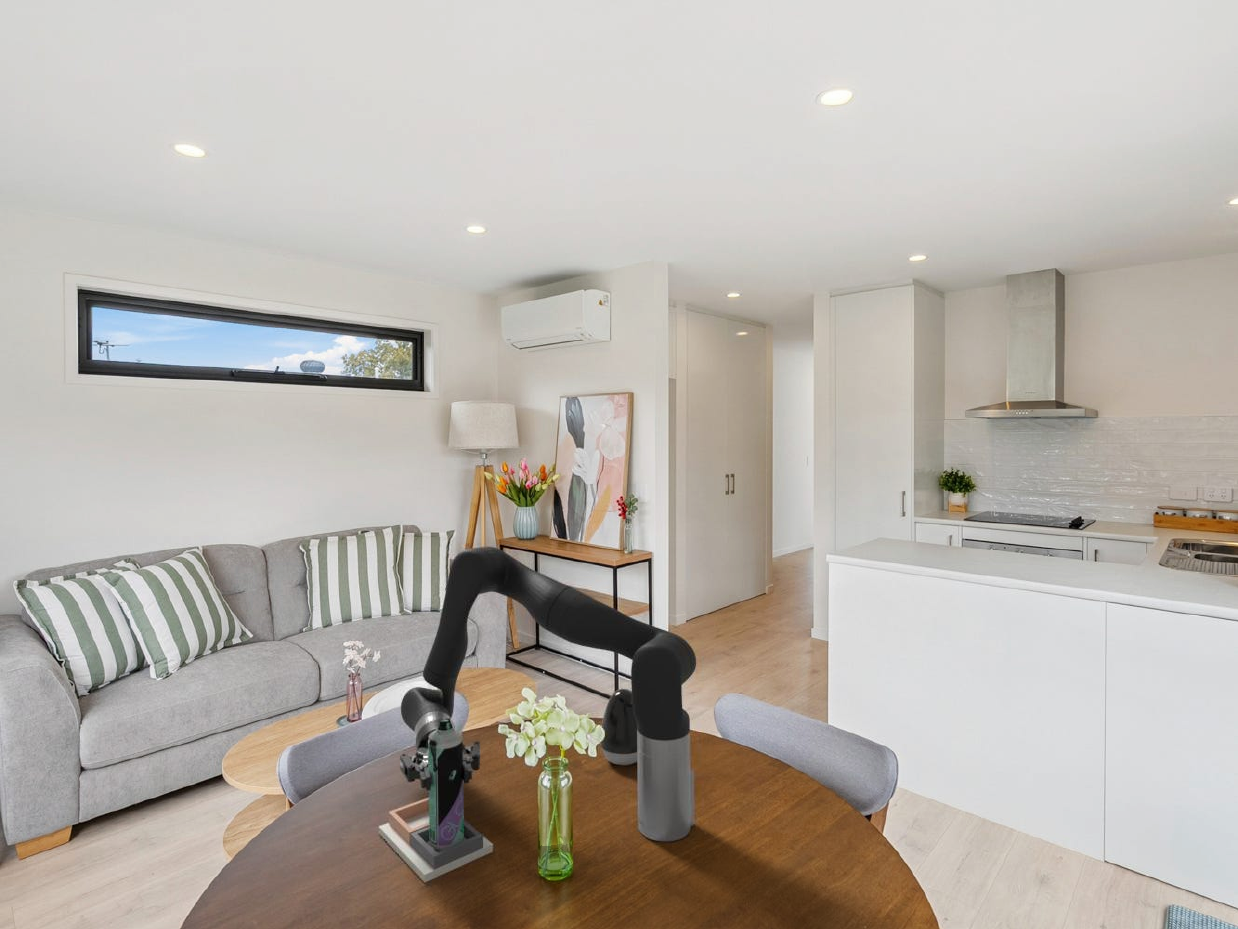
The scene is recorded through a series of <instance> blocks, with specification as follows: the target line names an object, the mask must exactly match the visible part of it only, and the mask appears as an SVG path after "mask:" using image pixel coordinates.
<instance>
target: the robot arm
mask: <svg viewBox="0 0 1238 929" xmlns="http://www.w3.org/2000/svg"><path fill="white" fill-rule="evenodd" d="M486 593H487V594H488V593H497V594H500V595H502V596H505V597H507V598H509V599H512V600H514V601H516V602H517V603H519V604H520V605H522V606H523V608H525V610H527V612H528V614H529V615H530V616H531V617H532V619H533V620H534V621H535V622H536V623H537V624H538V625H539V626H540V627H542V628H543V629H544V630H546V631H547V632H549V633H550V634H553V635H554V636H557V637H558V638H560V639H562V640H564V641H567V642H568V643H570V644H571V643H572V644H575V645H578V646H582V647H586V648H592V649H596V650H603V651H607V652H611V653H612V652H613V653H615V654H619V655H620V656H621V655H622V656H624V657H626V658H627V659H630V660H631V667H630V668H631V670H630V678H631V679H630V680H631V681H630V682H631V683H630V684H631V692H632V705H633V713H634V716H635V718H636V721H637V762H636V763H637V829H638V831H639V832H640V833H641V835H642V836H644V837H645V838H647V839H650V840H653V841H657V842H674V841H678V840H681V839H683V838H685V837H686V836H687V835H688V834H689V833H690V831H691V827H692V826H694V825H695V772H694V770H693V769H691V742H690V741H691V740H690V739H691V736H690V735H691V732H690V731H691V727H690V726H691V720H690V719H691V718H690V715H689V712H687V711H686V710H685V709H684V708H683V696H682V695H683V694H682V693H683V690H682V689H683V688H682V685H684V684H685V683H686V682H687V681H688V680H689V678H691V677H692V675H693V674H694V672H695V670H696V667H697V658H696V654H695V651H694V649H693V648H692V646H691V645H690V644H689V642H688V641H686V639H685V638H683V637H681V636H679V634H676V633H673V632H671V631H668V630H665V629H662V628H660V627H657V626H653V625H652V624H648V623H645V622H642V621H640V620H638V619H635V618H633V617H630V616H629V615H627V614H625V613H623V612H621V611H620V610H618V609H616V608H613V607H612V606H609V605H608V604H605V603H603V602H601V601H599V600H597V599H596V598H593V597H592V596H590V595H587V594H585V592H582V591H580V590H577V589H575V588H574V587H571V586H570V585H567V584H565V583H562V582H561V581H558V580H557V579H554V578H552V577H549V576H547V575H545V574H543V573H540V572H538V571H536V570H534V569H532V568H530V567H528V566H527V565H526V564H523V563H522V561H519V560H517V559H515V558H514V557H513V556H511V555H510V554H509V553H507V552H506V551H504V550H501V548H497V547H494V546H481V547H479V546H478V547H472V548H467V549H463V550H462V551H460V552H458V554H457V555H456V556H455V557H454V558H453V560H452V563H451V565H450V569H449V573H448V578H447V583H446V589H445V593H444V600H443V603H442V609H441V614H440V618H439V619H440V620H439V624H438V628H437V632H436V634H435V637H434V641H433V643H432V646H431V649H430V651H429V654H428V656H427V659H426V662H425V665H424V668H423V672H422V677H423V680H424V682H426V683H427V684H429V685H431V686H432V687H435V688H437V689H439V690H437V689H432V688H426V687H421V686H417V687H412V688H410V689H409V690H407V692H405V694H404V695H403V697H402V700H401V704H400V715H401V718H402V720H403V722H404V723H405V725H406V726H407V727H408V728H409V729H411V730H412V731H413V732H414V739H413V740H414V746H415V747H414V748H415V750H416V752H415V754H414V755H409V754H408V753H406V752H405V753H404V752H403V753H400V754H399V763H400V764H399V769H400V771H401V773H402V775H403V776H404V777H405V779H406V781H407V782H408V783H413V782H415V781H416V780H419V783H420V788H421V789H425V791H426V792H427V791H428V792H429V790H431V778H430V773H429V769H428V740H429V734H430V733H432V732H433V731H435V730H436V728H437V727H438V726H439V725H440V721H441V720H444V719H447V718H449V719H450V722H451V724H452V725H453V726H454V728H456V725H455V722H454V721H453V720H452V717H453V714H454V708H455V707H454V706H455V690H456V686H457V681H458V676H459V674H460V672H461V668H462V666H463V664H464V662H465V658H466V655H467V653H468V652H467V651H468V647H469V645H468V644H469V635H468V633H469V632H468V620H469V614H470V612H471V609H472V607H473V605H474V604H475V602H476V600H477V598H478V596H480V595H482V594H486ZM467 755H468V756H467ZM416 765H418V766H416ZM480 766H481V742H480V741H478V740H477V741H474V742H473V744H472V745H470V746H466V745H465V744H464V743H463V785H466V784H469V783H470V780H473V771H479V770H480Z"/></svg>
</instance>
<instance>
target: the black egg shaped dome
mask: <svg viewBox="0 0 1238 929" xmlns="http://www.w3.org/2000/svg"><path fill="white" fill-rule="evenodd" d="M601 726H602V728H603V729H604V730H605V738H604V740H603V741H602V742H600V741H599V746H600V748H601V750H602V753H603V756H604V757H605V758H606V760H607V761H609V762H610V763H612V764H615V765H616V766H629V765H632V764H635V763H637V721H636V718H635V716H634V713H633V705H632V690H629V689H627V688H619V689H617V690H616V691H614V692H613V693H612V694H611V696H610V698H609V699H608V702H607V704H606V707H605V710H604V712H603V718H602V721H601Z"/></svg>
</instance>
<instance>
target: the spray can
mask: <svg viewBox="0 0 1238 929" xmlns="http://www.w3.org/2000/svg"><path fill="white" fill-rule="evenodd" d="M463 741H464V740H463V732H462V731H461V730H460V729H459V728H457V727H455V728H454V726H453V725H452V724H451V722H450V719H449V718H447V719H444V720H441V721H440V725H439V726H438V727H437V728H436V730H435V731H433V732H432V733H430V734H429V740H428V769H429V773H430V778H431V790H428V797H429V840H430V845H431V847H433V848H434V849H438V850H444V849H446V848H449V847H451V846H453V845H455V844H458V843H460V842H462V841H463V839H464V820H465V817H464V814H465V813H464V812H465V811H464V810H465V809H464V781H463V744H464V743H463Z"/></svg>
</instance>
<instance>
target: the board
mask: <svg viewBox="0 0 1238 929" xmlns="http://www.w3.org/2000/svg"><path fill="white" fill-rule="evenodd" d="M378 834H379V836H380V837H382V838H383V840H384V839H385V840H384V841H387V842H386V843H387V844H388V845H389V846H390V848H392V849H393V851H394V852H395V853H396V854H399V857H400V858H401V859H402V860H403V862H405V863H406V864H407V865H408V866H409V868H410V869H411V870H412V871H413V872H414V873H415V874H416V876H418V877H419V878H420V879H421V880H422V882H423V883H427V882H429V881H432V880H434V879H436V878H438V877H440V876H442V875H445V874H447V873H449V872H451V871H453V870H456V869H458V868H460V867H463V866H464V865H466V864H469V863H471V862H473V861H476V860H478V859H480V858H482V857H484V856H486V855H488V854H491V853H493V852H494V844H493V843H492V842H491V841H490V840H488V838H487V837H485V836H484V835H483V834H482V833H480V832H479V831H478V830H477V829H476V828H475V827H473V826H472V825H471V824H470V823H469V822H467V821H466V820H465V819H464V839H463V841H462V842H460V843H458V844H455V845H453V846H451V847H449V848H446V849H444V850H438V849H434V848H433V847H431V845H430V840H429V796H428V797H426V798H422V799H420V800H417V801H416V802H412V803H409V804H407V805H404V806H401V807H399V808H396V809H392V810H390V811H388V822H387V823H384V824H381V825H379V826H378Z"/></svg>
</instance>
